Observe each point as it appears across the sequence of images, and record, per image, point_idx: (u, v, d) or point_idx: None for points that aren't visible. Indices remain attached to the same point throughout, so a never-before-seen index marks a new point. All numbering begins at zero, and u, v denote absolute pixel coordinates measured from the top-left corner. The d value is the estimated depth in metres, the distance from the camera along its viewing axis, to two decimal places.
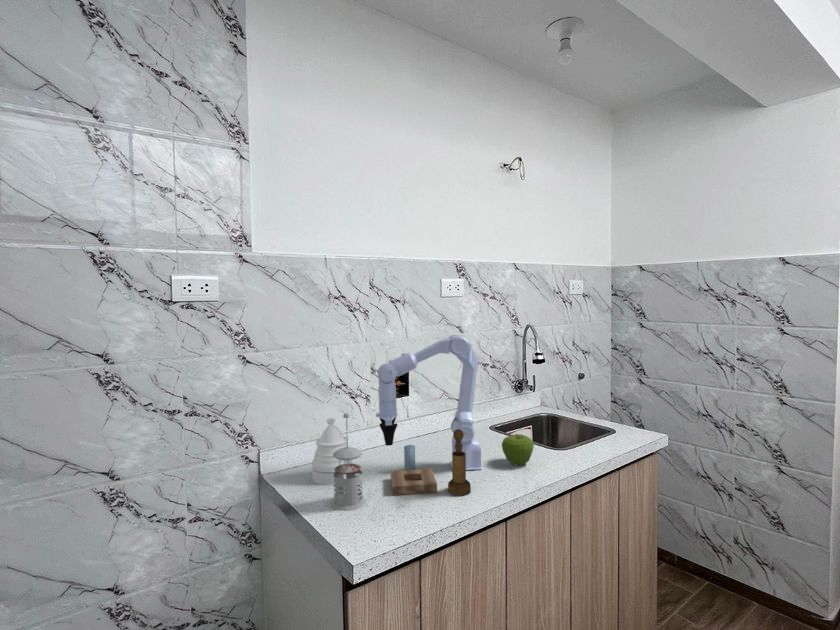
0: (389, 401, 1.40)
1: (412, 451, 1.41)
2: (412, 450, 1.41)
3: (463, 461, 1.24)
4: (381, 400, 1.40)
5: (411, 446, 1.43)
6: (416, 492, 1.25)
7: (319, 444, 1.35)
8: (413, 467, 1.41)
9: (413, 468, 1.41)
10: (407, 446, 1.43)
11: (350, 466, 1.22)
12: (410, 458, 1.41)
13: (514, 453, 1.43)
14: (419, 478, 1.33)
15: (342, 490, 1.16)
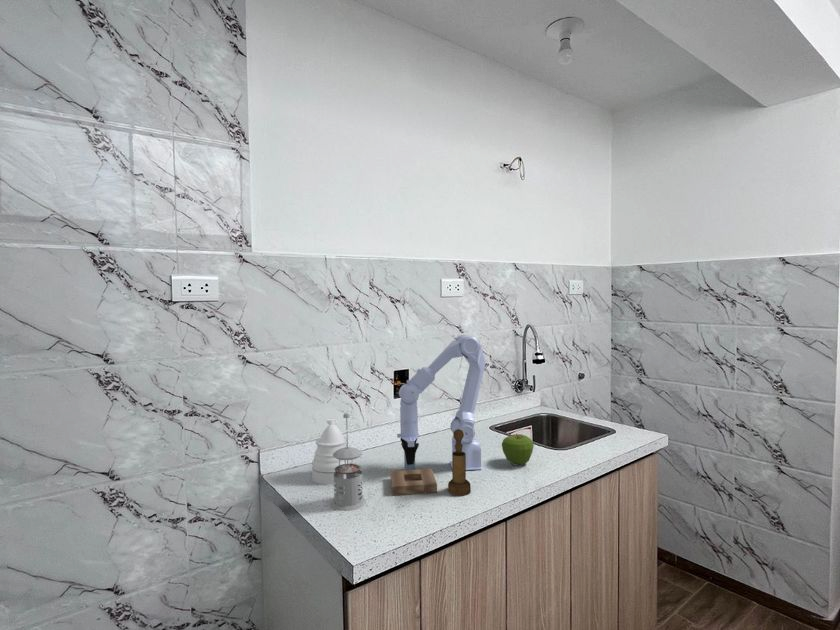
0: (411, 422, 1.40)
1: None
2: None
3: (463, 461, 1.24)
4: (403, 421, 1.40)
5: None
6: (416, 492, 1.25)
7: (319, 444, 1.35)
8: (413, 467, 1.41)
9: (413, 468, 1.41)
10: None
11: (350, 466, 1.22)
12: None
13: (514, 453, 1.43)
14: (419, 478, 1.33)
15: (342, 490, 1.16)
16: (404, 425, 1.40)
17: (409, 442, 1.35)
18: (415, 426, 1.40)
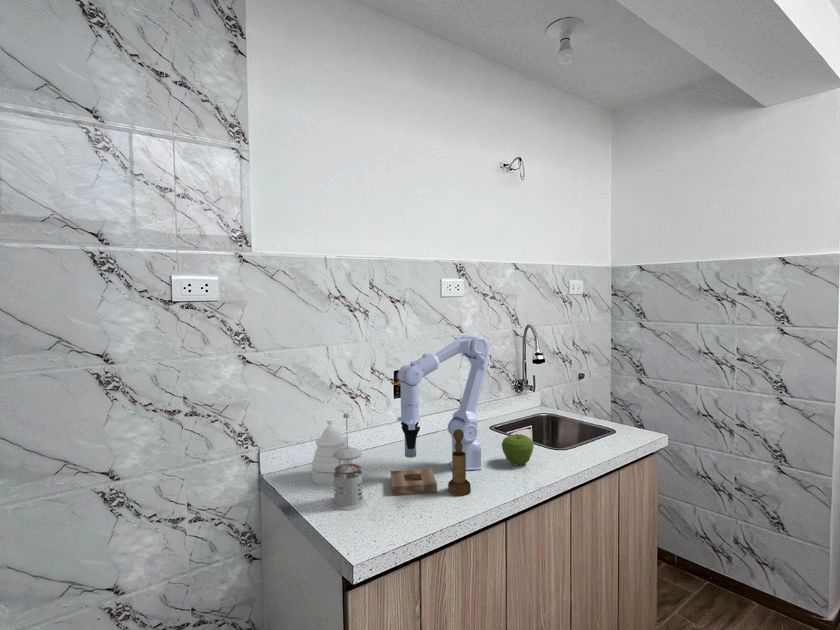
0: (415, 404, 1.34)
1: None
2: None
3: (463, 461, 1.24)
4: (406, 404, 1.34)
5: None
6: (416, 492, 1.25)
7: (319, 444, 1.35)
8: (414, 452, 1.35)
9: (414, 453, 1.35)
10: None
11: (350, 466, 1.22)
12: None
13: (513, 453, 1.43)
14: (419, 478, 1.33)
15: (342, 490, 1.16)
16: (405, 408, 1.34)
17: (410, 425, 1.29)
18: (416, 409, 1.34)
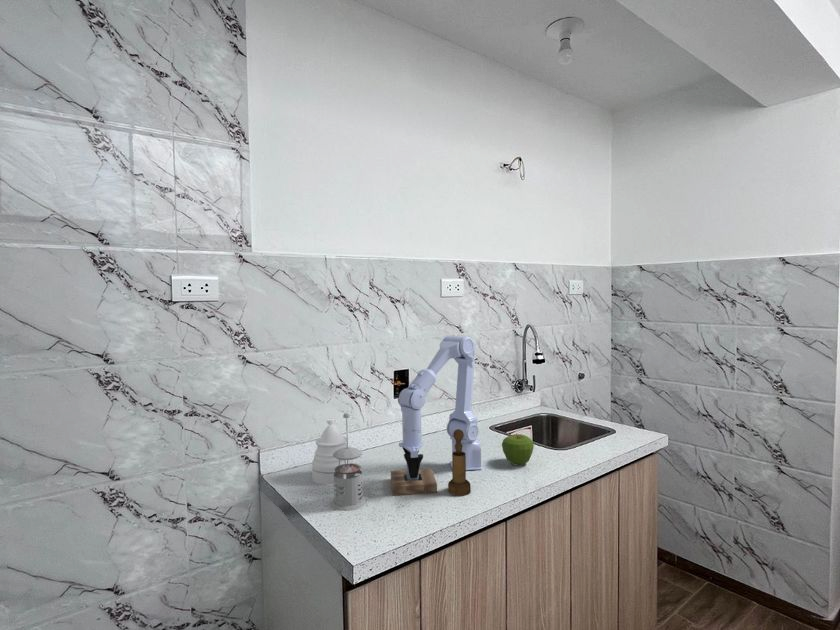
0: (419, 429, 1.29)
1: None
2: None
3: (463, 461, 1.24)
4: (410, 429, 1.28)
5: None
6: (416, 492, 1.25)
7: (319, 444, 1.35)
8: None
9: None
10: None
11: (350, 466, 1.22)
12: None
13: (514, 453, 1.43)
14: (419, 478, 1.33)
15: (342, 490, 1.16)
16: (407, 433, 1.28)
17: (412, 452, 1.23)
18: (419, 434, 1.29)
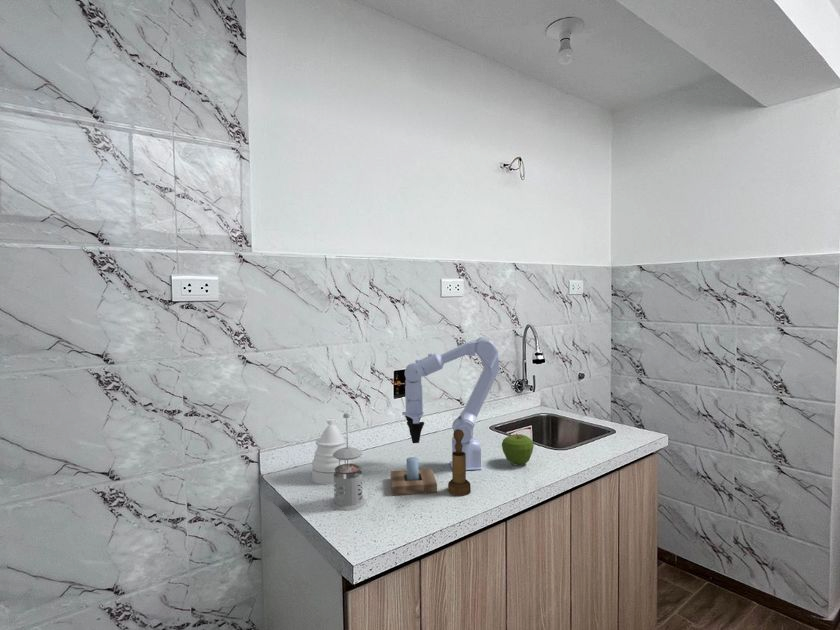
0: (415, 400, 1.43)
1: (415, 464, 1.29)
2: (415, 463, 1.29)
3: (463, 461, 1.24)
4: (407, 399, 1.43)
5: (414, 459, 1.31)
6: (416, 492, 1.25)
7: (319, 444, 1.35)
8: None
9: None
10: (410, 459, 1.31)
11: (350, 466, 1.22)
12: (413, 472, 1.29)
13: (513, 453, 1.43)
14: (419, 478, 1.33)
15: (342, 490, 1.16)
16: (409, 403, 1.43)
17: (414, 419, 1.38)
18: (420, 404, 1.44)
